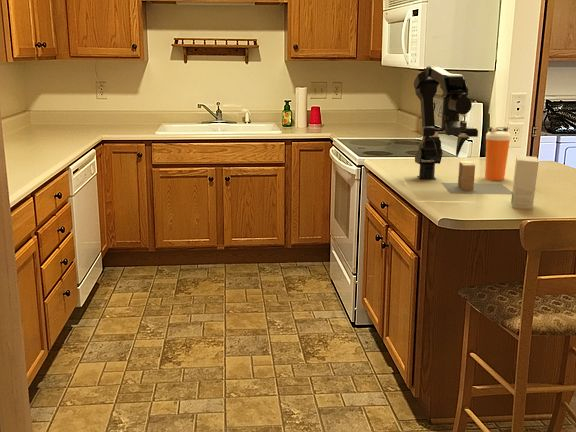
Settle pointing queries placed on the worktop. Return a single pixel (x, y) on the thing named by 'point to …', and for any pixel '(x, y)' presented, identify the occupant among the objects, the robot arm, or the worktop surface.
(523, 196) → the skincare box
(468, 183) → the block
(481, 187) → the mat
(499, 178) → the shaker bottle
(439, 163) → the robot arm
